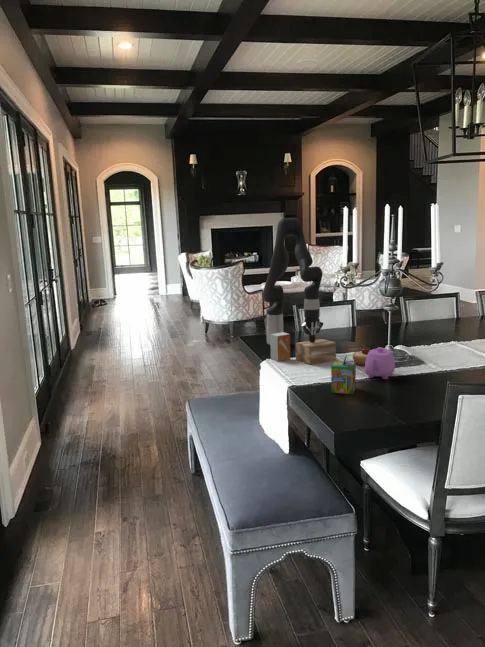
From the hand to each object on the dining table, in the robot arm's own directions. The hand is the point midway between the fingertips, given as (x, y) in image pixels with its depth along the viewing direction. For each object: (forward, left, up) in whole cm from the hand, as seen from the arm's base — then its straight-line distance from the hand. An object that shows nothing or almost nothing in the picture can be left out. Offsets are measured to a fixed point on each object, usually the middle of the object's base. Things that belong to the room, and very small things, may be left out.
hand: (312, 342), depth 261 cm
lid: (0, +2, -1) cm, 2 cm away
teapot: (+39, +7, -10) cm, 41 cm away
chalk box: (+45, -19, -10) cm, 50 cm away
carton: (0, +2, -9) cm, 9 cm away
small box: (-12, -11, -10) cm, 19 cm away
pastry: (+20, +16, -10) cm, 28 cm away
